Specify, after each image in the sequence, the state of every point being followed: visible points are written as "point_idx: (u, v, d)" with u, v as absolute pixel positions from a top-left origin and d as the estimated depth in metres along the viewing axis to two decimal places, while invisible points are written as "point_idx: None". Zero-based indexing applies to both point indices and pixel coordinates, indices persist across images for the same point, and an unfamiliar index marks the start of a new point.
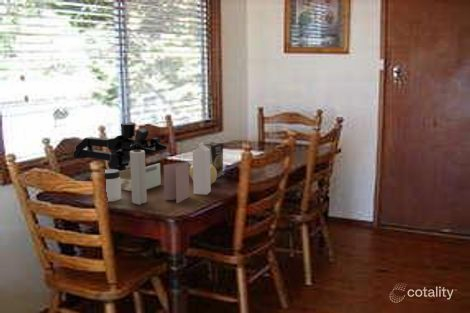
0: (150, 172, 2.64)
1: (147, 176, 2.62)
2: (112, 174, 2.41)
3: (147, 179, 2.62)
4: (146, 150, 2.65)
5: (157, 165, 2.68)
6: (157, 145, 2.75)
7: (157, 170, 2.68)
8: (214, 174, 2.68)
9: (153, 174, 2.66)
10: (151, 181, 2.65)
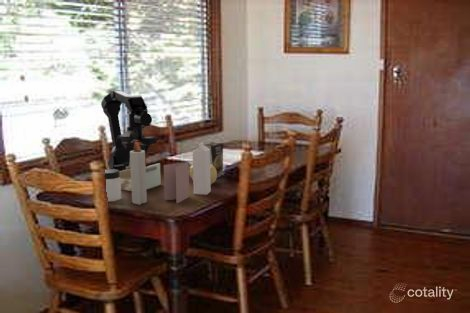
0: (150, 172, 2.64)
1: (147, 176, 2.62)
2: (112, 174, 2.41)
3: (147, 179, 2.62)
4: None
5: (157, 165, 2.68)
6: None
7: (157, 170, 2.68)
8: (214, 174, 2.68)
9: (153, 174, 2.66)
10: (151, 181, 2.65)
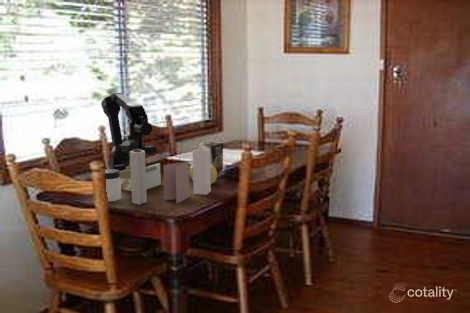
0: (150, 172, 2.64)
1: (147, 176, 2.62)
2: (112, 174, 2.41)
3: (147, 179, 2.62)
4: None
5: (157, 165, 2.68)
6: None
7: (157, 170, 2.68)
8: (214, 174, 2.68)
9: (153, 174, 2.66)
10: (151, 181, 2.65)
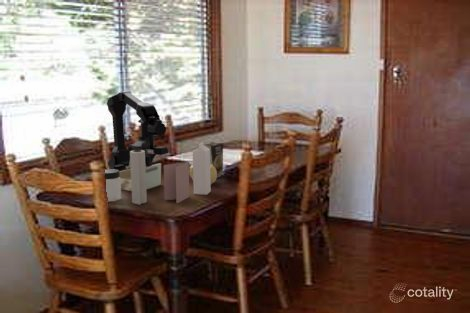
0: (151, 172, 2.64)
1: (148, 176, 2.62)
2: (112, 174, 2.41)
3: (147, 179, 2.62)
4: None
5: (158, 165, 2.68)
6: None
7: (158, 170, 2.68)
8: (214, 174, 2.68)
9: (154, 174, 2.66)
10: (151, 181, 2.65)
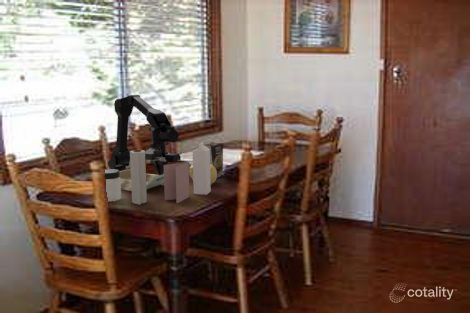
0: None
1: (155, 181, 2.61)
2: (112, 174, 2.41)
3: (153, 183, 2.61)
4: None
5: None
6: None
7: None
8: (214, 174, 2.68)
9: (161, 179, 2.64)
10: (155, 184, 2.64)
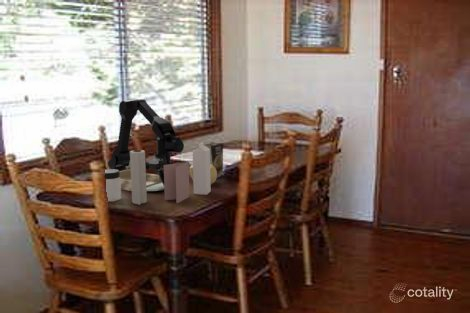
0: None
1: None
2: (112, 174, 2.41)
3: None
4: None
5: None
6: None
7: None
8: (214, 174, 2.68)
9: None
10: None
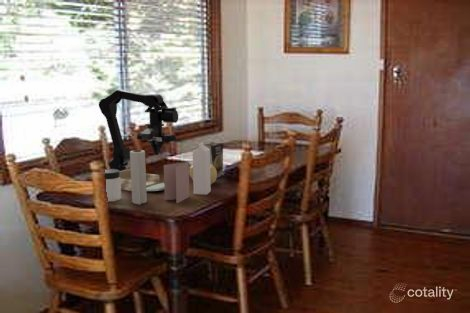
0: None
1: None
2: (112, 174, 2.41)
3: None
4: None
5: None
6: None
7: None
8: (214, 174, 2.68)
9: None
10: None
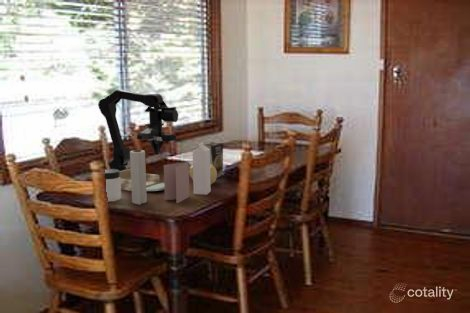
0: None
1: None
2: (112, 174, 2.41)
3: None
4: None
5: None
6: None
7: None
8: (214, 174, 2.68)
9: None
10: None
